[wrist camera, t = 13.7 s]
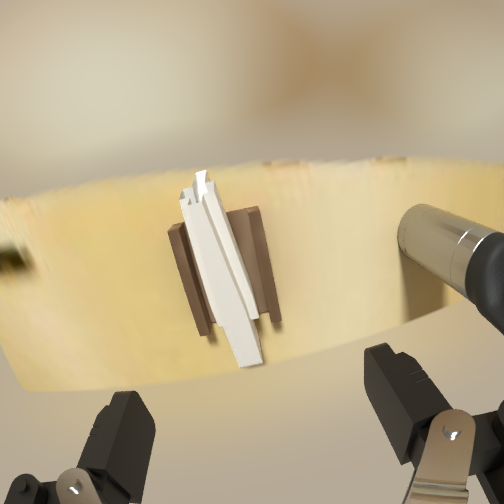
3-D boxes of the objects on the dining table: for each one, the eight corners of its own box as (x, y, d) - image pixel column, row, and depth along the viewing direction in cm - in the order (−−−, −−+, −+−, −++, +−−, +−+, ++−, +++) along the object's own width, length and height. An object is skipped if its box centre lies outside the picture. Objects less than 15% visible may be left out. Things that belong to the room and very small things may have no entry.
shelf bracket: (221, 165, 40) (222, 196, 29) (260, 308, 52) (271, 364, 41) (181, 176, 40) (167, 211, 29) (229, 315, 52) (233, 372, 41)
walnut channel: (257, 205, 42) (259, 210, 38) (278, 307, 47) (281, 320, 43) (173, 224, 42) (167, 231, 38) (202, 322, 47) (200, 336, 43)
